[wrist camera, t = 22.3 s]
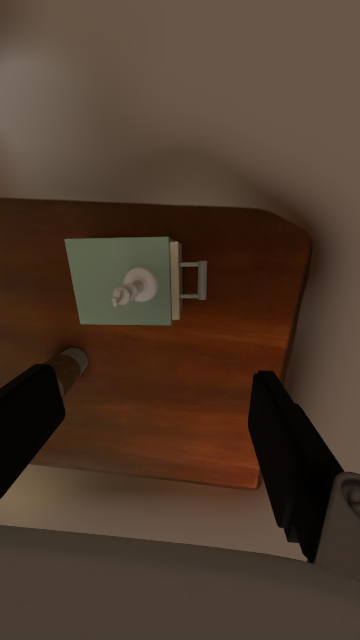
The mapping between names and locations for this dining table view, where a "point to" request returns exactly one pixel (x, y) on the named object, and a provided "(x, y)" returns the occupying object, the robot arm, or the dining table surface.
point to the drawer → (176, 279)
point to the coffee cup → (68, 367)
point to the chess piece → (136, 287)
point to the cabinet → (119, 278)
